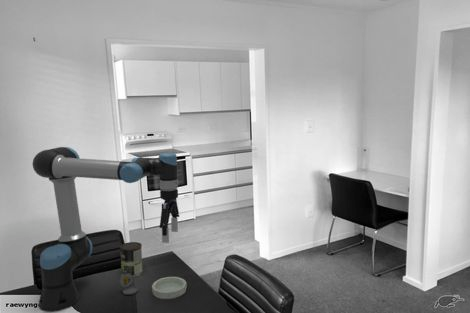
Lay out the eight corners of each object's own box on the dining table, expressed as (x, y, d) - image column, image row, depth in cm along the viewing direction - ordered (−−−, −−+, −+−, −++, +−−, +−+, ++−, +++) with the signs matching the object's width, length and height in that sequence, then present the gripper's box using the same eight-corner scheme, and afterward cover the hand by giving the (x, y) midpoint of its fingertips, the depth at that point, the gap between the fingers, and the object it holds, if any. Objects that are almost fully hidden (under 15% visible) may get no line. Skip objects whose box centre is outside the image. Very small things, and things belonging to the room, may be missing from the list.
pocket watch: (133, 296, 160) (132, 274, 159) (116, 294, 162) (114, 273, 161) (142, 287, 168) (141, 266, 167) (125, 285, 170) (124, 265, 169)
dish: (147, 298, 159) (147, 291, 158) (158, 282, 173) (158, 276, 173) (181, 300, 157) (181, 293, 156) (189, 283, 171) (189, 277, 171)
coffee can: (123, 279, 177) (122, 251, 175) (119, 271, 186) (118, 244, 184) (145, 274, 181) (143, 247, 180) (140, 266, 190) (138, 240, 189)
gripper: (168, 196, 145) (170, 247, 148) (184, 183, 170) (185, 227, 172) (150, 195, 146) (152, 247, 149) (169, 182, 170) (170, 227, 173)
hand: (170, 236), depth 161 cm, fingers open, 13 cm apart
